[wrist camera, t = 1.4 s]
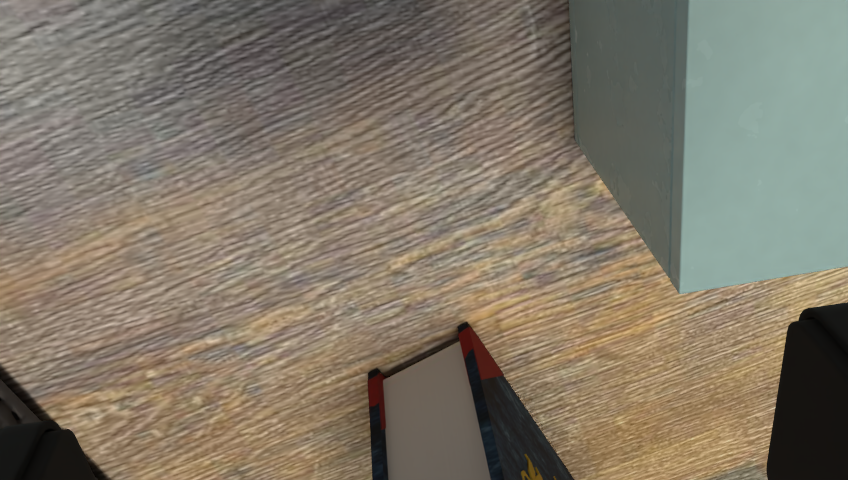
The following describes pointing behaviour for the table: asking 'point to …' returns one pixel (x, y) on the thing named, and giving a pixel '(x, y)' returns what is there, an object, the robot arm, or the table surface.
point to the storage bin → (14, 409)
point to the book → (455, 421)
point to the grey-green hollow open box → (628, 106)
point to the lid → (759, 141)
